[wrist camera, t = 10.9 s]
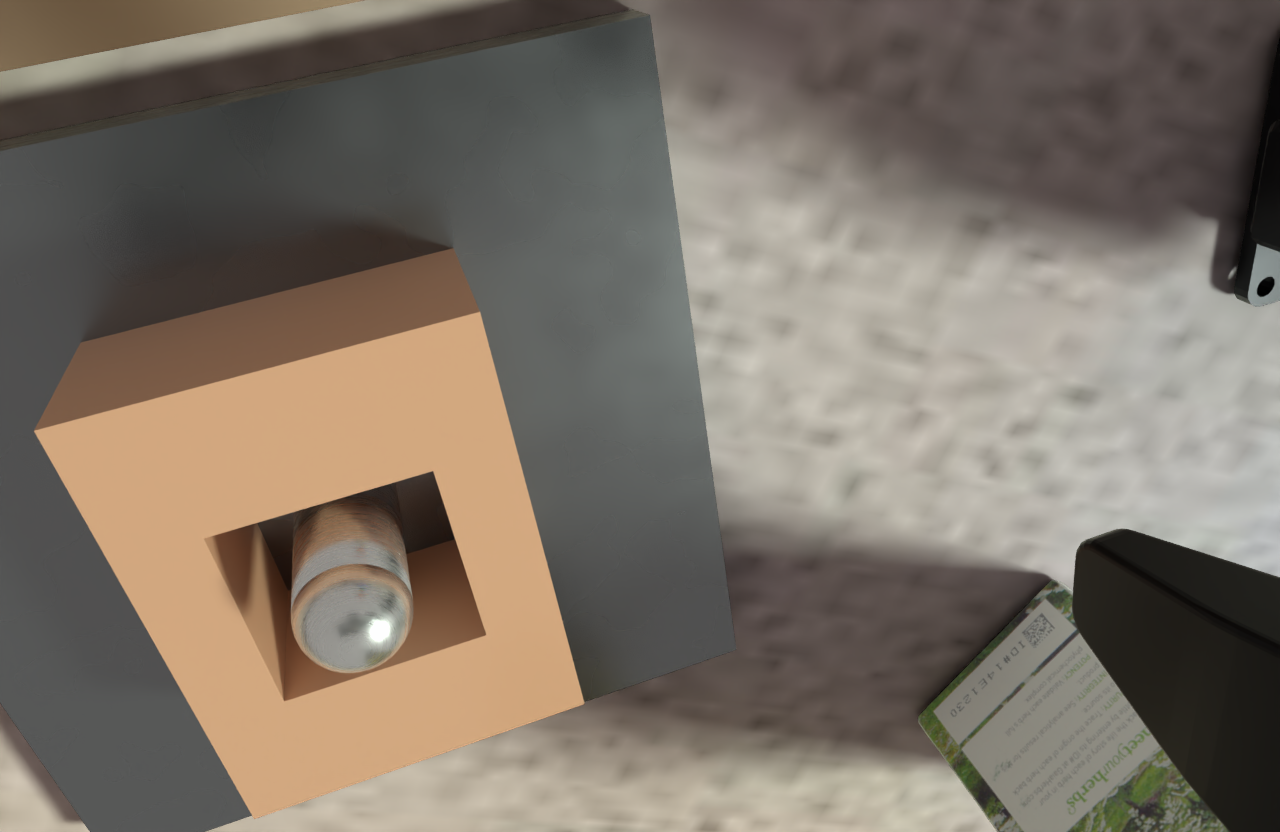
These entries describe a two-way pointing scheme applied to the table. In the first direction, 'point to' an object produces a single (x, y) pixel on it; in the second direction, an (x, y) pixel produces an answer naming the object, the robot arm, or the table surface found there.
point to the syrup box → (1056, 736)
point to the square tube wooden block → (305, 477)
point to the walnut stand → (122, 23)
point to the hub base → (334, 247)
